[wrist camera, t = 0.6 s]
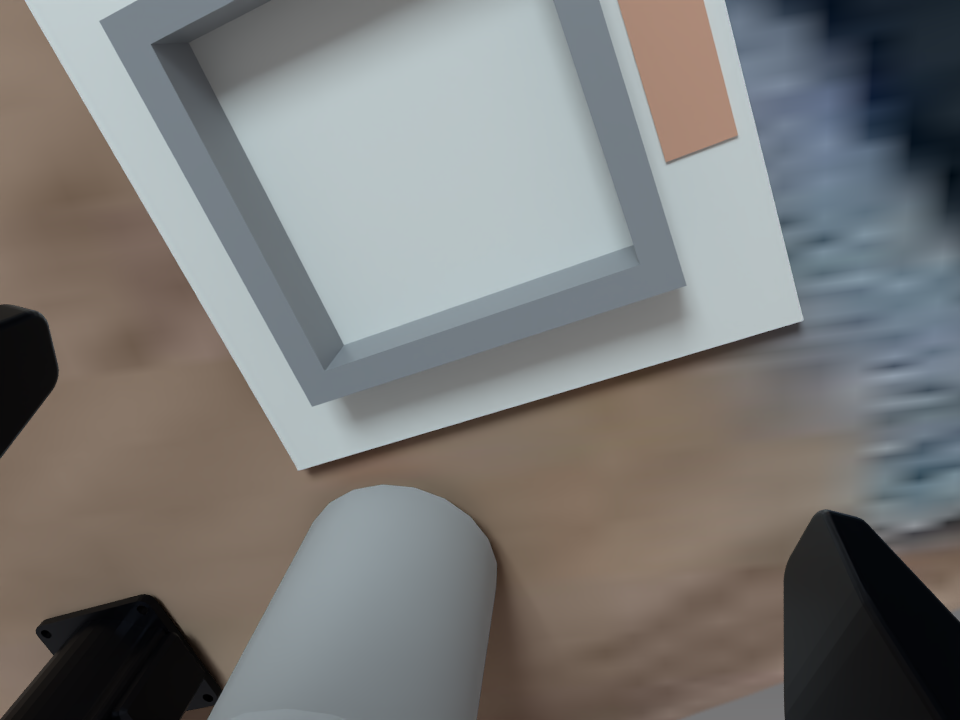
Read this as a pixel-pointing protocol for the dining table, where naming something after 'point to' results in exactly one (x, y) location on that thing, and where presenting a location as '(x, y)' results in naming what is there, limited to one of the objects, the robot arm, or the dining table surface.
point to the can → (373, 617)
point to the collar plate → (438, 193)
